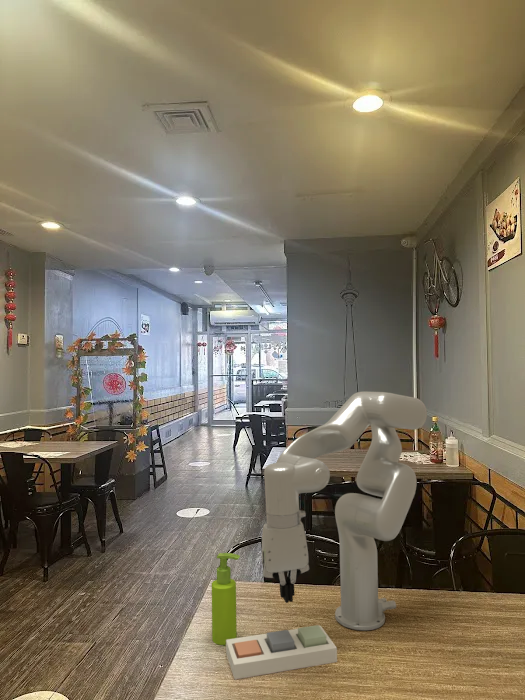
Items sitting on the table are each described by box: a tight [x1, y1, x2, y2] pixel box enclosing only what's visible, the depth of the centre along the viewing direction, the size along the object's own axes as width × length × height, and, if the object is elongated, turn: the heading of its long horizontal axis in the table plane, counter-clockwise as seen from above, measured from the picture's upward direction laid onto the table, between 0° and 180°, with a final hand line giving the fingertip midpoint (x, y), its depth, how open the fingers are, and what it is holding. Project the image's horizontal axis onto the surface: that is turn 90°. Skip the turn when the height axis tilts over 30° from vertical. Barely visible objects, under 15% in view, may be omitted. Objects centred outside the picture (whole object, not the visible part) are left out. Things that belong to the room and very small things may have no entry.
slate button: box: [266, 629, 294, 653], centre depth 111 cm, size 5×5×2 cm
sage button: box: [297, 624, 326, 648], centre depth 113 cm, size 5×5×2 cm
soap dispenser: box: [211, 552, 241, 646], centre depth 120 cm, size 6×7×20 cm
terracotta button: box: [234, 640, 262, 659], centre depth 109 cm, size 5×5×2 cm
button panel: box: [225, 625, 338, 680], centre depth 111 cm, size 23×10×3 cm, turn 104°
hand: (287, 599), depth 113 cm, fingers closed
